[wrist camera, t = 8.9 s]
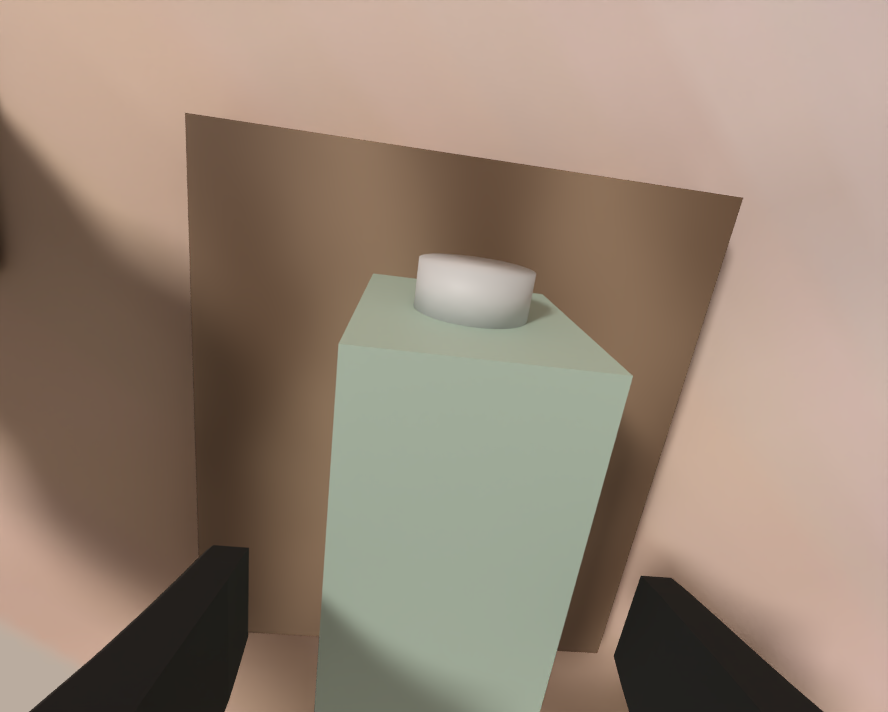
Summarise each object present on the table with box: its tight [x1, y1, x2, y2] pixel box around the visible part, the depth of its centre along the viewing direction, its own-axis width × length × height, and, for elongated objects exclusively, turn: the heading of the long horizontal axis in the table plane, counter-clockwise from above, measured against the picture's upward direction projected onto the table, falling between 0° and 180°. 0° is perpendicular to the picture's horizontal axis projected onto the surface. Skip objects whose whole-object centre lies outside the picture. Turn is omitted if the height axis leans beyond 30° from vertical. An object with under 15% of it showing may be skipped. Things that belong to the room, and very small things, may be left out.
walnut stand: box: [185, 113, 743, 653], centre depth 16 cm, size 14×16×2 cm
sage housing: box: [314, 254, 633, 712], centre depth 12 cm, size 5×10×6 cm, turn 173°
